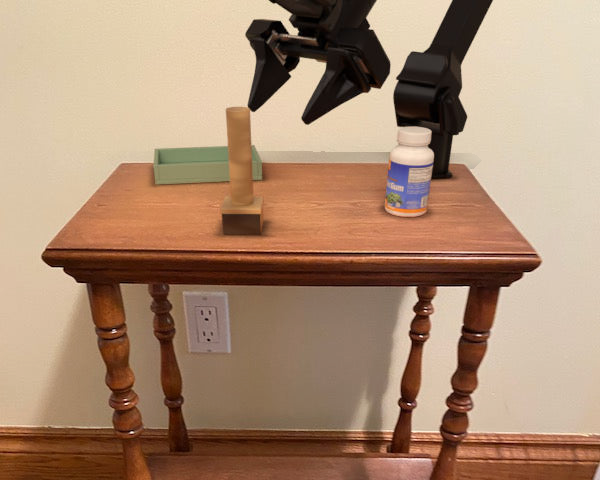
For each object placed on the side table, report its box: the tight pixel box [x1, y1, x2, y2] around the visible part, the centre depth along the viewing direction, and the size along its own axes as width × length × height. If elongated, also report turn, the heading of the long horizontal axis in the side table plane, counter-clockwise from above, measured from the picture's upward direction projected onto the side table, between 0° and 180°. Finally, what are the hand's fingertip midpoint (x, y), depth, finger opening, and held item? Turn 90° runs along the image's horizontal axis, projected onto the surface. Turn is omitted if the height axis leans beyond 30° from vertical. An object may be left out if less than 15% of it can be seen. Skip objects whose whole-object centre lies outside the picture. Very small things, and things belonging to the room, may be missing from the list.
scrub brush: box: [220, 106, 265, 236], centre depth 71 cm, size 5×5×13 cm
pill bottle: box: [384, 127, 434, 218], centre depth 77 cm, size 5×5×10 cm
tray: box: [153, 144, 263, 186], centre depth 93 cm, size 15×10×3 cm, turn 100°
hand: (276, 115), depth 71 cm, fingers open, 9 cm apart
